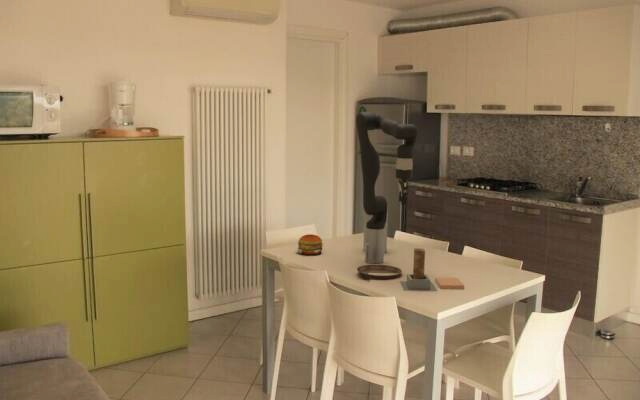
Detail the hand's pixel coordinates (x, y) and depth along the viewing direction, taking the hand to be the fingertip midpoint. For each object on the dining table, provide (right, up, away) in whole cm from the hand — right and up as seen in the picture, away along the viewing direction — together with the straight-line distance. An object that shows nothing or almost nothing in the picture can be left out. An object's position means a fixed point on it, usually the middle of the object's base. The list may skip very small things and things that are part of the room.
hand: (402, 202), depth 278 cm
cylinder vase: (-8, -27, +48) cm, 56 cm away
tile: (+18, -35, -11) cm, 40 cm away
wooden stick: (+4, -36, -20) cm, 41 cm away
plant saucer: (-11, -34, -1) cm, 36 cm away
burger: (-43, -27, +42) cm, 66 cm away
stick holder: (+4, -37, -19) cm, 42 cm away
